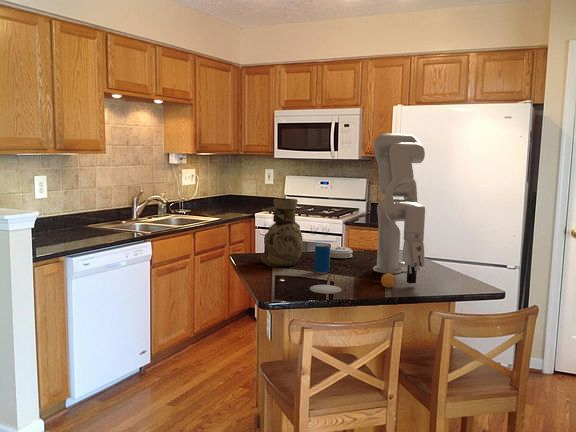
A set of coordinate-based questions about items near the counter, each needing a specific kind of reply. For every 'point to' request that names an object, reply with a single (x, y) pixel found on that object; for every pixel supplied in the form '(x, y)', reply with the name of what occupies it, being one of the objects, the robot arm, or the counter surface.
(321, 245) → the beverage can
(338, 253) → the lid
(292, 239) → the ceramic vessel
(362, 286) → the counter surface
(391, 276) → the ball
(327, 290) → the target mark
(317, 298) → the counter surface
